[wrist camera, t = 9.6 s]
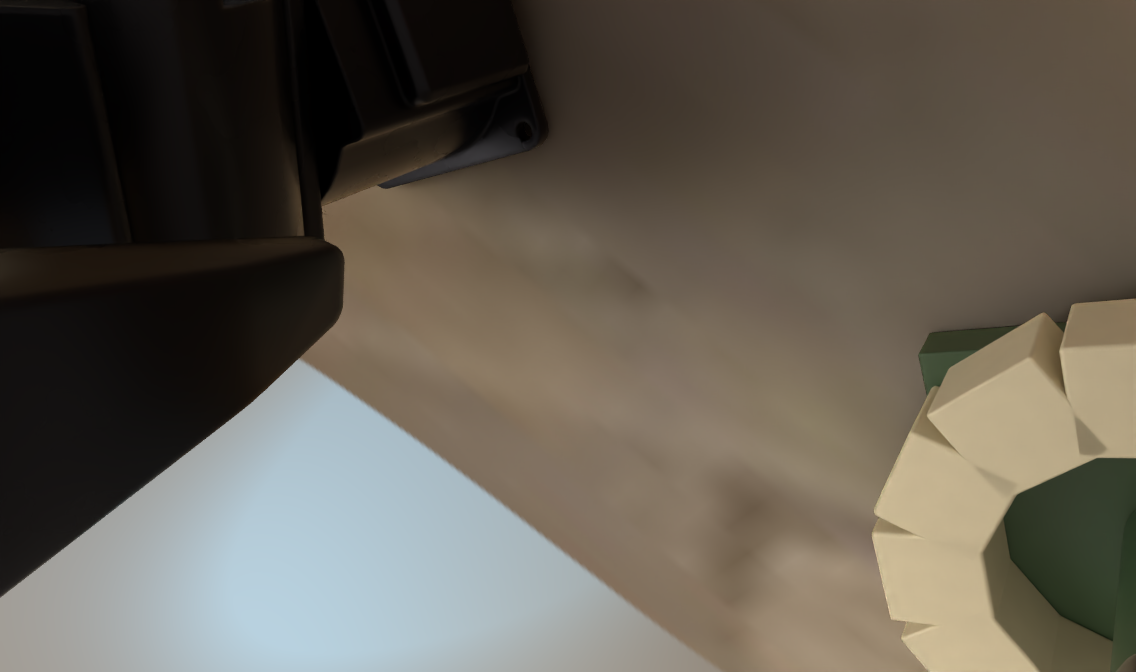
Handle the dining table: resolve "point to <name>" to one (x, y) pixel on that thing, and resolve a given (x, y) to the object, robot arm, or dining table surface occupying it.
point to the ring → (1002, 490)
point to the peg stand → (1066, 522)
